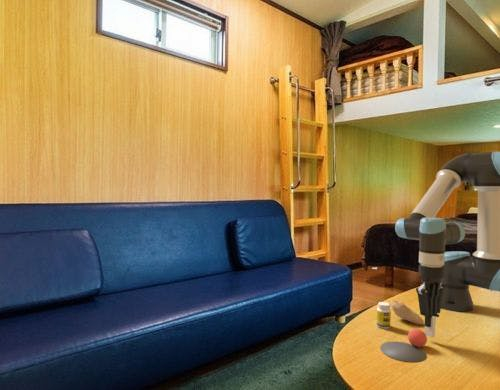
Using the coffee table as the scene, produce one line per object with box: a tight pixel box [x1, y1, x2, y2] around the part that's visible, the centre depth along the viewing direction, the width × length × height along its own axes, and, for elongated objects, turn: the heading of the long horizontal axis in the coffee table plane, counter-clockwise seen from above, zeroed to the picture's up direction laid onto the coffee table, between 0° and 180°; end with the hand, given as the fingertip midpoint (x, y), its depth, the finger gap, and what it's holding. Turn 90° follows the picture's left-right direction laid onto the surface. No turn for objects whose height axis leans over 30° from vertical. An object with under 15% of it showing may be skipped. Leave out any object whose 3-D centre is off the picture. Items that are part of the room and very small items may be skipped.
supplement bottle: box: [376, 301, 392, 330], centre depth 129 cm, size 5×5×8 cm
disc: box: [379, 341, 427, 363], centre depth 109 cm, size 13×13×1 cm
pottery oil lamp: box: [390, 299, 425, 326], centre depth 134 cm, size 9×12×7 cm
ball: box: [407, 328, 428, 348], centre depth 113 cm, size 6×6×6 cm
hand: (429, 335), depth 116 cm, fingers closed
